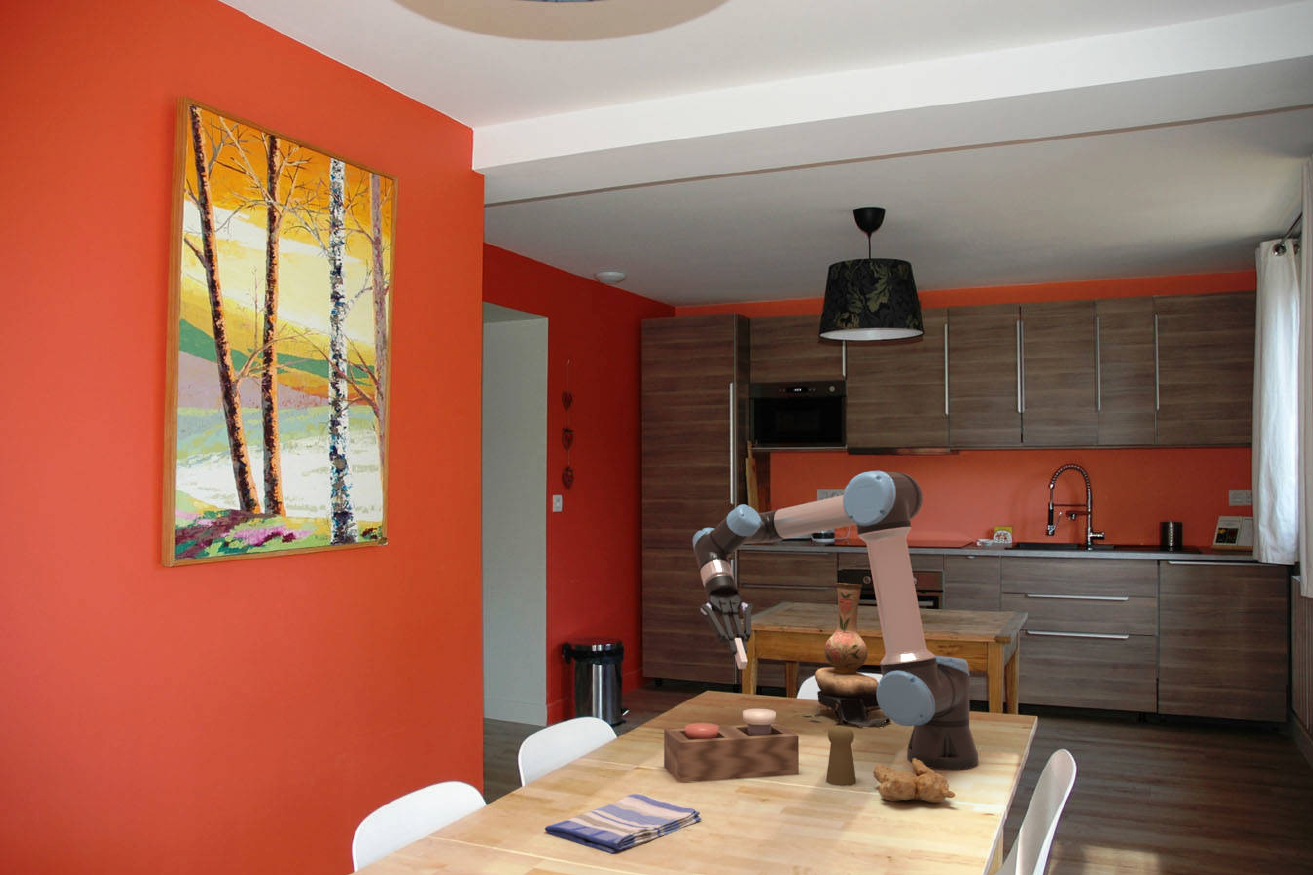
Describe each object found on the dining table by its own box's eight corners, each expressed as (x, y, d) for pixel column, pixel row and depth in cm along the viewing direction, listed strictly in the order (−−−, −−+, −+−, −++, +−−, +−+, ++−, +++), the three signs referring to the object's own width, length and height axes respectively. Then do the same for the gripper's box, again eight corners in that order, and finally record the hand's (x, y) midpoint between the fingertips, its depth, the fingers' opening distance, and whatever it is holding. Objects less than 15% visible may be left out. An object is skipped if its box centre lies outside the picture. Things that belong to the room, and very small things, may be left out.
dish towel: (704, 823, 184) (704, 807, 184) (616, 858, 166) (616, 841, 166) (632, 804, 195) (632, 789, 195) (542, 835, 177) (542, 818, 177)
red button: (712, 754, 220) (712, 721, 220) (722, 763, 213) (722, 729, 214) (680, 756, 218) (681, 723, 218) (690, 765, 211) (690, 731, 212)
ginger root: (955, 809, 187) (944, 765, 189) (870, 820, 193) (860, 777, 194) (961, 789, 202) (951, 748, 203) (882, 800, 207) (872, 760, 208)
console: (776, 759, 226) (776, 723, 227) (798, 774, 215) (798, 735, 215) (664, 767, 220) (664, 729, 220) (680, 782, 208) (680, 742, 208)
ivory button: (768, 740, 224) (768, 707, 224) (780, 747, 217) (780, 714, 217) (738, 742, 222) (738, 709, 222) (749, 749, 215) (749, 716, 215)
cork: (855, 786, 206) (855, 731, 207) (825, 784, 207) (825, 729, 208) (856, 778, 212) (855, 724, 213) (826, 776, 213) (826, 723, 214)
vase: (906, 714, 274) (905, 583, 276) (877, 730, 255) (877, 589, 257) (823, 704, 286) (823, 578, 288) (791, 719, 267) (791, 584, 269)
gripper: (741, 593, 250) (765, 674, 233) (690, 594, 247) (711, 676, 230) (748, 573, 245) (774, 654, 228) (697, 573, 242) (719, 656, 225)
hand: (743, 665), depth 229 cm, fingers closed
